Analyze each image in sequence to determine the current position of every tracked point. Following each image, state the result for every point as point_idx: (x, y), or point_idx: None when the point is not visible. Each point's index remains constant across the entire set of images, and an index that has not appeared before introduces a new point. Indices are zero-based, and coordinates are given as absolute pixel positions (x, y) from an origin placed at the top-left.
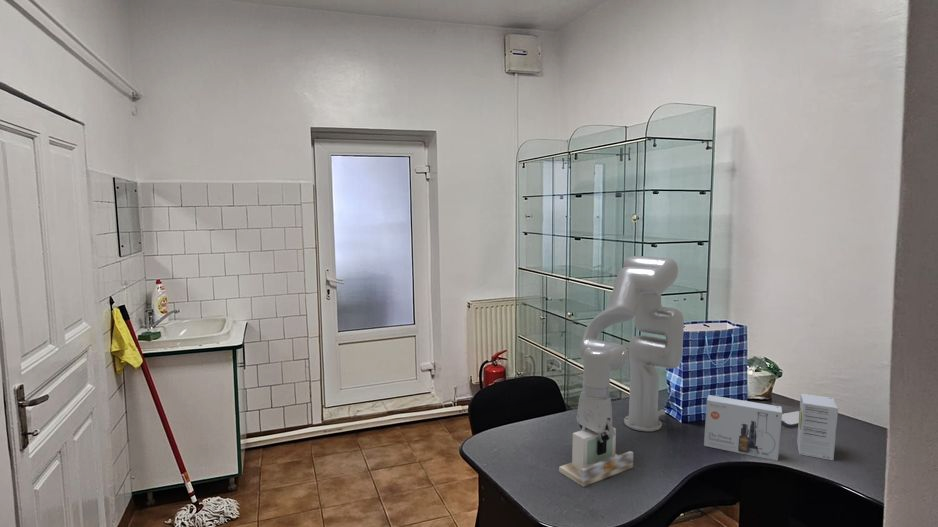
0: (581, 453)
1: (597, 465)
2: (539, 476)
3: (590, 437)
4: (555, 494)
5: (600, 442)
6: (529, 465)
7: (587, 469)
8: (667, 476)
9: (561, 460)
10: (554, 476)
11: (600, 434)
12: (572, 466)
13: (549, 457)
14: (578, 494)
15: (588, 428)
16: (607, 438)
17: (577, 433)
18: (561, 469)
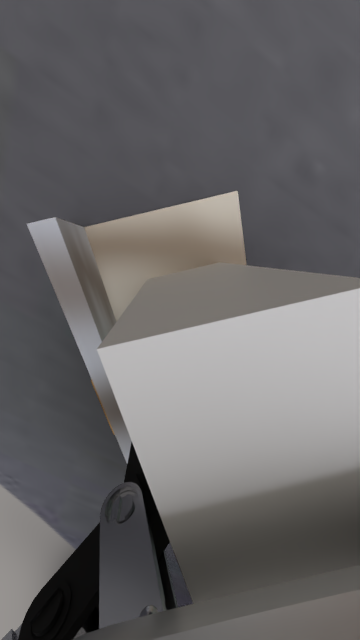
0: (157, 289)
1: (77, 339)
2: (229, 58)
3: (144, 461)
4: (31, 35)
5: (124, 483)
6: (349, 70)
7: (41, 257)
8: (79, 513)
9: (305, 265)
10: (200, 148)
11: (107, 607)
12: (213, 260)
13: (354, 227)
14: (14, 171)
15: (294, 606)
16: (32, 604)
17: (330, 354)
18: (217, 196)
